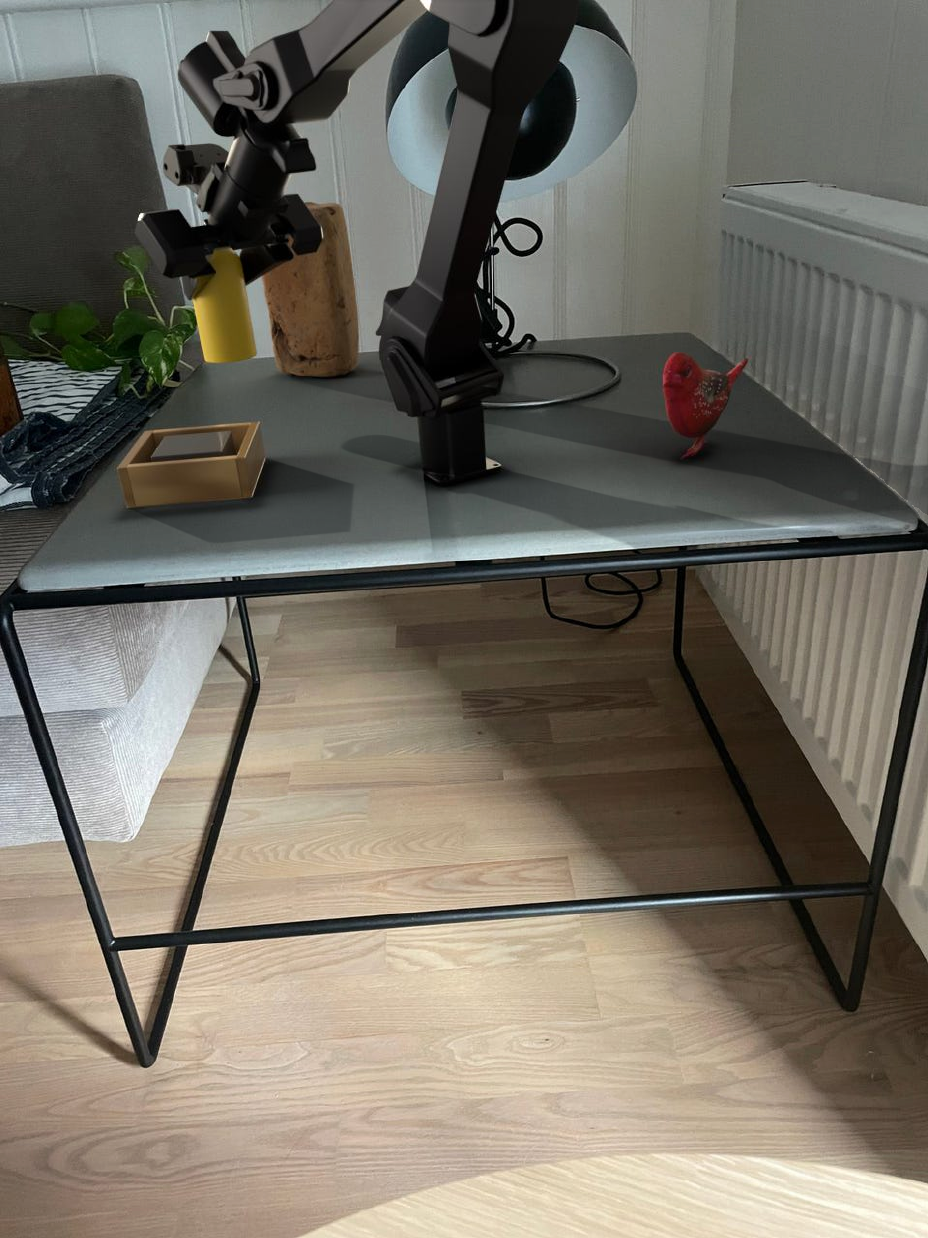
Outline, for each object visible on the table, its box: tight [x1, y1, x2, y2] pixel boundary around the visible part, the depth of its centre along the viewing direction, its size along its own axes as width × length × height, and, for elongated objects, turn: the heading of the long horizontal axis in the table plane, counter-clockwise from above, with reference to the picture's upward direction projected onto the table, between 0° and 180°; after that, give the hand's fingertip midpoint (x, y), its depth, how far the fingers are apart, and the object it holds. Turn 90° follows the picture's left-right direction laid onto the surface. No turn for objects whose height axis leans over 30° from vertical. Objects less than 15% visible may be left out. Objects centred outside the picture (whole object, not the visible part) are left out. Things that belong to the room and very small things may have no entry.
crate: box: [116, 421, 266, 509], centre depth 84 cm, size 11×11×4 cm
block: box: [260, 201, 360, 378], centre depth 117 cm, size 11×8×20 cm
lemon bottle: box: [192, 248, 258, 364], centre depth 99 cm, size 6×6×13 cm
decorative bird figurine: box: [662, 351, 749, 460], centre depth 84 cm, size 3×18×10 cm, turn 143°
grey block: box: [151, 431, 236, 462], centre depth 84 cm, size 6×6×4 cm
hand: (212, 291), depth 100 cm, fingers closed on lemon bottle, 5 cm apart
